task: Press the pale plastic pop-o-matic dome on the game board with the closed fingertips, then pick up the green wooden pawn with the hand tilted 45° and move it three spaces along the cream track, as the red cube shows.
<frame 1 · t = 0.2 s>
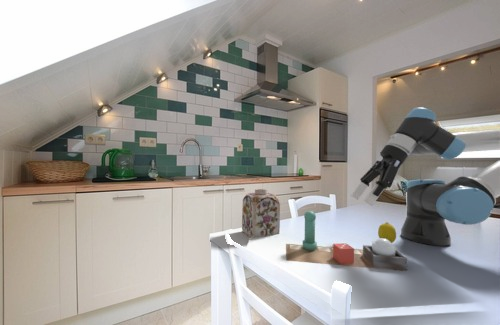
hand: (360, 200, 76), 16 cm above the table, tool tilted 35°, fingers open, 13 cm apart
dome: (383, 246, 61), point 5 cm above the table, slide at 0.0 cm
lemon: (386, 245, 78), on the table
red cube: (343, 260, 62), point 1 cm above the table, touching board
pawn: (309, 248, 70), point 1 cm above the table, touching board
board: (336, 259, 65), on the table
decorative jar: (260, 234, 87), on the table
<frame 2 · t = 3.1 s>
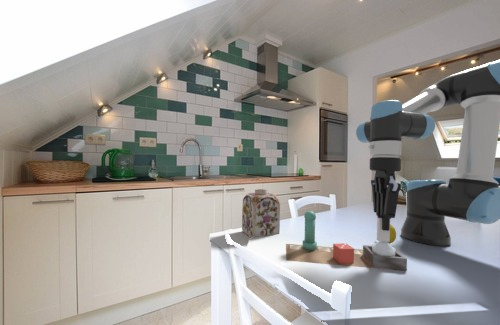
hand: (383, 240, 61), 7 cm above the table, tool pointing down, fingers closed
dome: (383, 249, 61), point 5 cm above the table, slide at -0.8 cm, touching gripper
everything else where it was.
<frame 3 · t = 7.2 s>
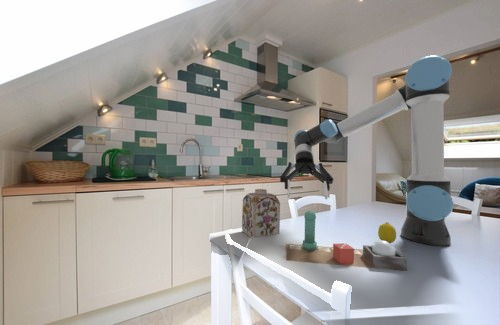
hand: (307, 196, 80), 17 cm above the table, tool tilted 45°, fingers open, 13 cm apart
dome: (383, 249, 61), point 5 cm above the table, slide at -0.6 cm
everything else where it was.
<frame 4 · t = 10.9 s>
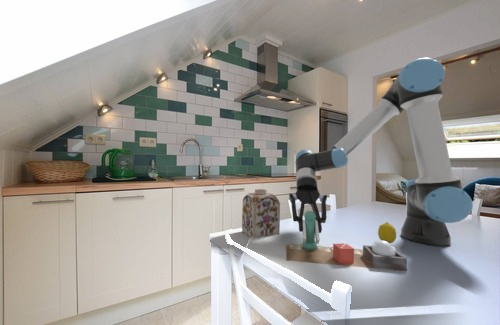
hand: (311, 241, 66), 5 cm above the table, tool tilted 45°, fingers closed on pawn, 3 cm apart
pawn: (309, 248, 70), point 1 cm above the table, touching board, gripper
everything else where it was.
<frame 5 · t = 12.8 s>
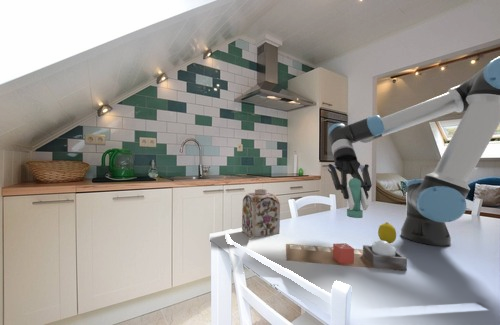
hand: (359, 207, 64), 16 cm above the table, tool tilted 45°, fingers closed on pawn, 3 cm apart
pawn: (354, 216, 68), point 12 cm above the table, touching gripper
everything else where it was.
when the fingers open (6 cm above the table, at t = 14.9 s): pawn drops 1 cm, resting on board.
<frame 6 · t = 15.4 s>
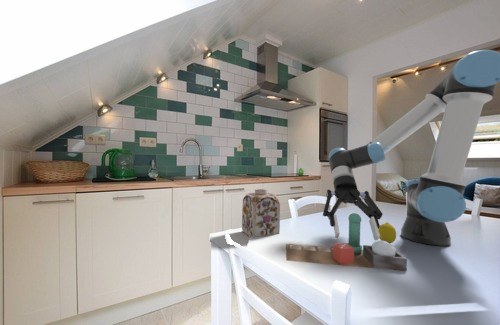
hand: (357, 237, 65), 7 cm above the table, tool tilted 45°, fingers open, 10 cm apart
pawn: (353, 251, 68), point 1 cm above the table, touching board
everything else where it was.
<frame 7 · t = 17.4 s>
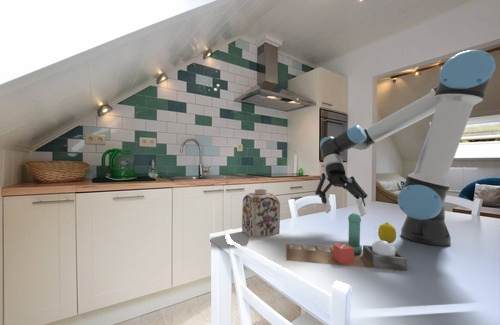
hand: (346, 213, 80), 11 cm above the table, tool tilted 40°, fingers open, 13 cm apart
nothing on the table moved.
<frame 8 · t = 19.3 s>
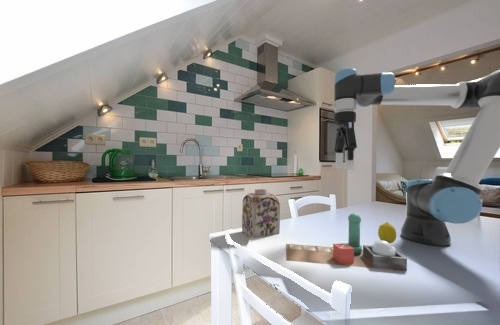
hand: (343, 169, 81), 27 cm above the table, tool pointing down, fingers open, 13 cm apart
nothing on the table moved.
at the end: pawn 0.0 cm from the target spot, point 1.2 cm above the table; pawn tilted 0°; the gripper is holding nothing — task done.
